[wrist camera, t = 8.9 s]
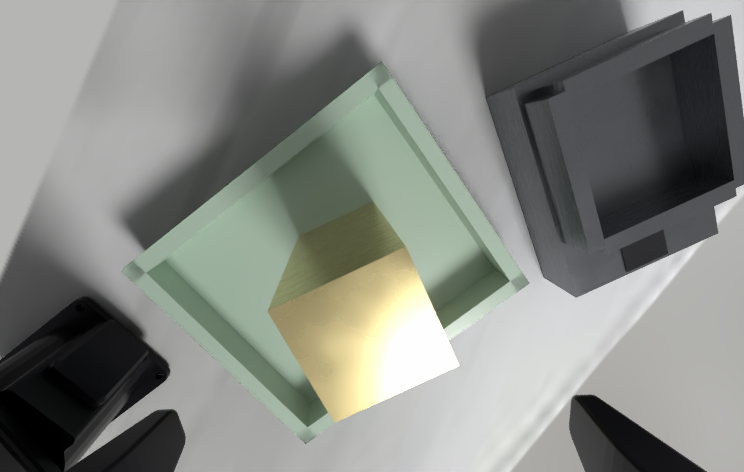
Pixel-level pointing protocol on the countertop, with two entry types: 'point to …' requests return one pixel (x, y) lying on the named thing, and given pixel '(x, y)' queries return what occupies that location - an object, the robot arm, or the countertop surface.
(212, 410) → the countertop surface
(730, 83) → the dark grey stepped fixture
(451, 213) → the parts tray
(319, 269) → the tan note paper block
